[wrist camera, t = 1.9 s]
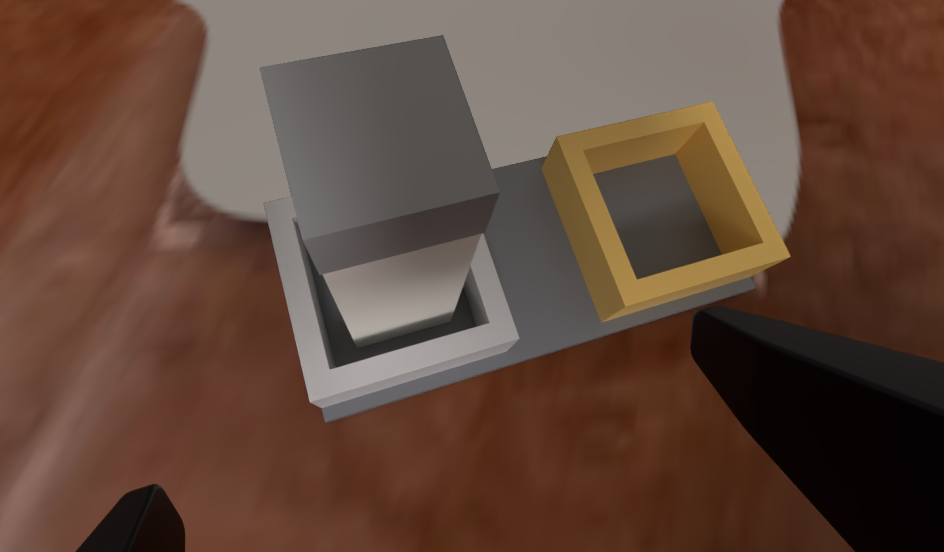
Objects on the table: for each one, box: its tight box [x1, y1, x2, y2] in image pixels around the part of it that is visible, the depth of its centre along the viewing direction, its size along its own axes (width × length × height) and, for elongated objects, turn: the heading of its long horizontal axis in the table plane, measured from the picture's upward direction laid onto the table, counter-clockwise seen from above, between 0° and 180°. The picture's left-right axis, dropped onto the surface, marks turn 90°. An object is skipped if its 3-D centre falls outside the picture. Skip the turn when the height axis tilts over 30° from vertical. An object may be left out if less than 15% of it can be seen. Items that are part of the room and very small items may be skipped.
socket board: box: [264, 102, 791, 423], centre depth 21 cm, size 18×8×3 cm, turn 108°
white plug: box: [260, 35, 500, 348], centre depth 16 cm, size 4×4×11 cm
